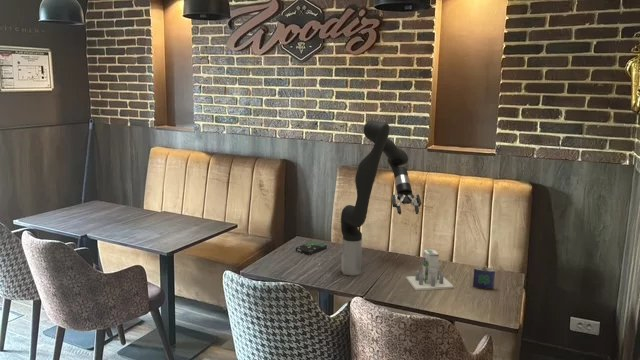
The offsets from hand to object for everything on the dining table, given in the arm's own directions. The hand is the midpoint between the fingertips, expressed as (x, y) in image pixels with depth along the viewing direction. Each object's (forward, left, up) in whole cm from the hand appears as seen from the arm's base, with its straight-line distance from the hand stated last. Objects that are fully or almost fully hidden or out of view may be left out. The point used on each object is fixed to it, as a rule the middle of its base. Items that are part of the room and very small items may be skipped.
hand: (408, 213), depth 256 cm
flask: (+28, -28, -29) cm, 49 cm away
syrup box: (+5, -20, -28) cm, 34 cm away
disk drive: (-43, +33, -29) cm, 62 cm away
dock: (+5, -20, -28) cm, 35 cm away
